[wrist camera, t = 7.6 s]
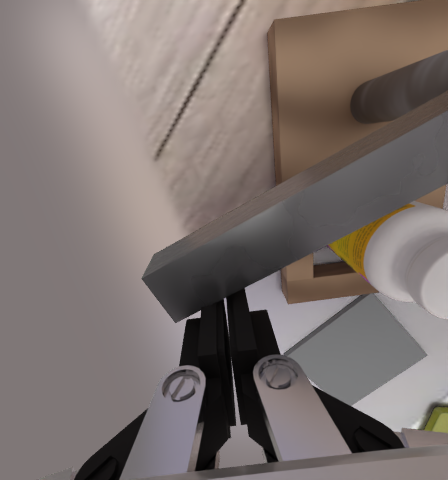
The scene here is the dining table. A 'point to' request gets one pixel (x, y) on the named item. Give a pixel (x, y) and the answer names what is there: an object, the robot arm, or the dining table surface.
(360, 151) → the retention bar
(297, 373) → the robot arm
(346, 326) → the coaster pad
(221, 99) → the dining table surface
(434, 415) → the olive square tray
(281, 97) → the collar stand
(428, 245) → the supplement bottle
